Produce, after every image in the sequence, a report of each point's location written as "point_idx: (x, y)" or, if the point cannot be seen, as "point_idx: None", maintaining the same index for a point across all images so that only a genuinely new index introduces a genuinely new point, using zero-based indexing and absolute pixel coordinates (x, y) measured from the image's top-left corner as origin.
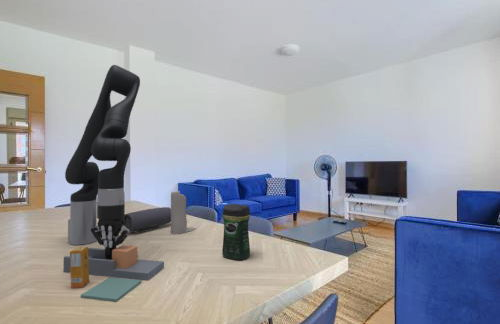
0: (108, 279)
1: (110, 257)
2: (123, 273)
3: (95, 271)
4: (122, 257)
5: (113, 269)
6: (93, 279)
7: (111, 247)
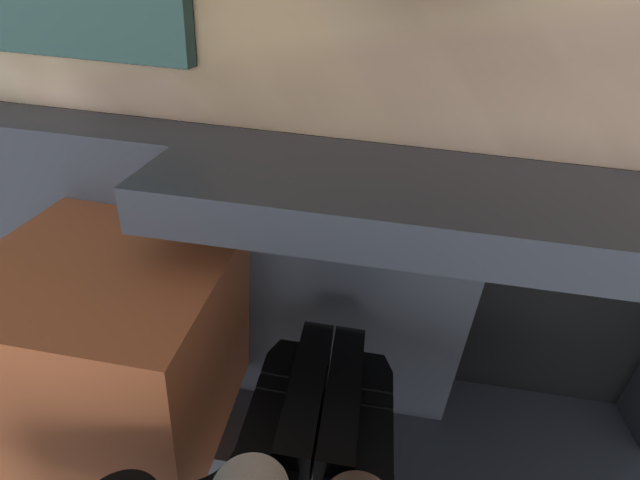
0: (153, 7)
1: (300, 338)
2: (57, 123)
3: (420, 162)
4: (30, 271)
5: (168, 152)
6: (373, 44)
7: (239, 457)
